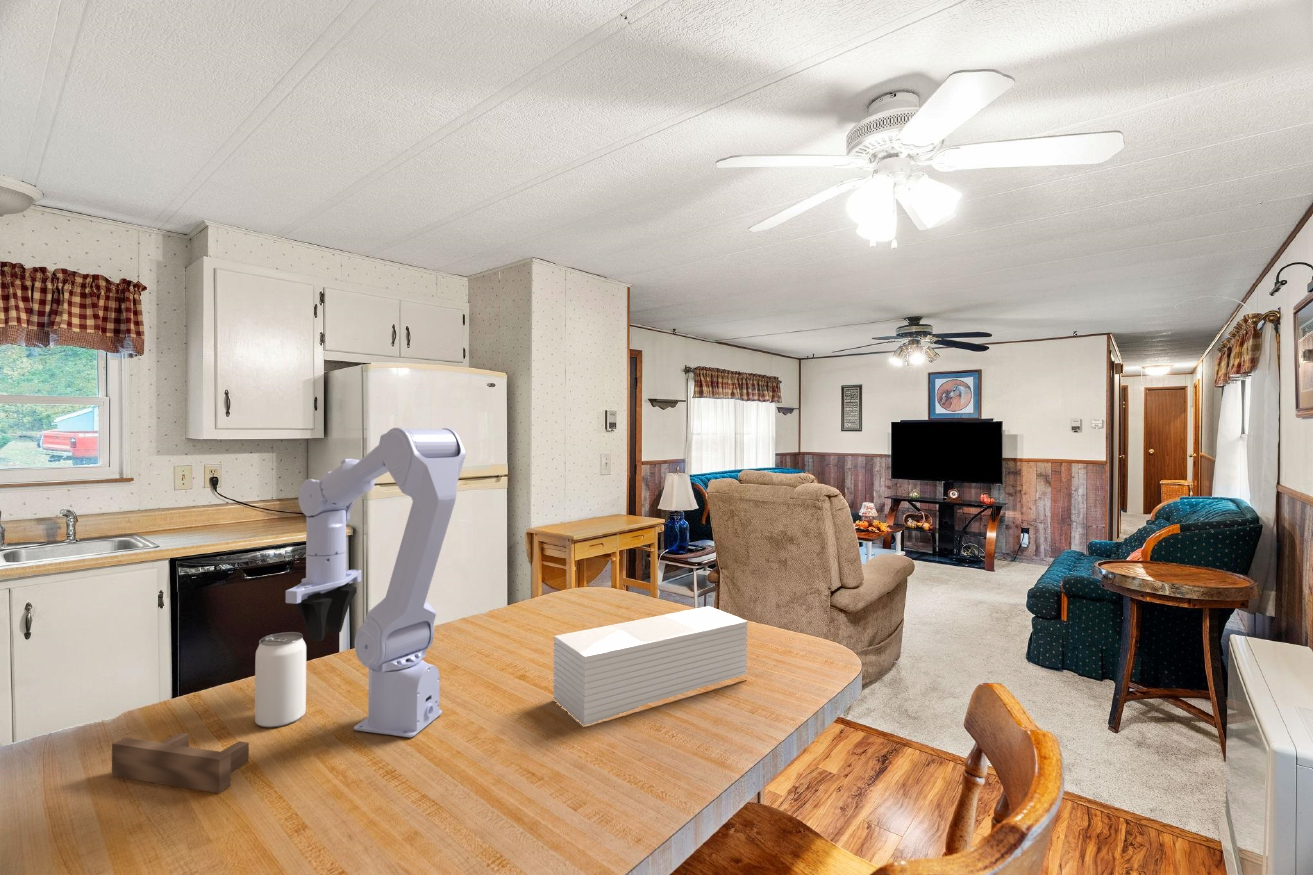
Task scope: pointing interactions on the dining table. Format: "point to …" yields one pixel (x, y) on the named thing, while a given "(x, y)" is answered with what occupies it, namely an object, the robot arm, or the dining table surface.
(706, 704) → the dining table surface
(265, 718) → the can
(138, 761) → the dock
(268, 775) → the dining table surface
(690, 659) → the stack of papers
